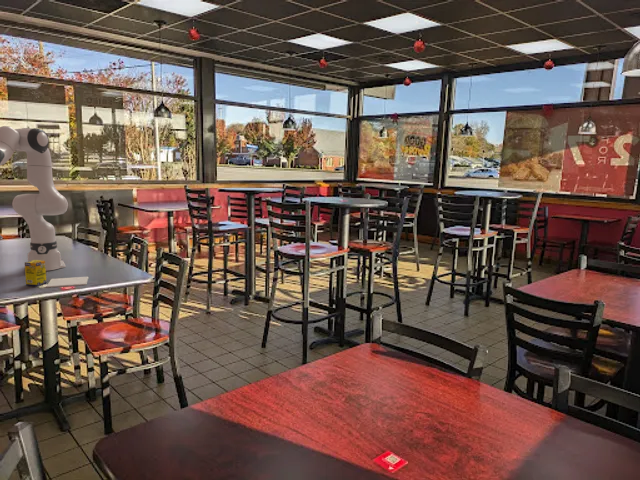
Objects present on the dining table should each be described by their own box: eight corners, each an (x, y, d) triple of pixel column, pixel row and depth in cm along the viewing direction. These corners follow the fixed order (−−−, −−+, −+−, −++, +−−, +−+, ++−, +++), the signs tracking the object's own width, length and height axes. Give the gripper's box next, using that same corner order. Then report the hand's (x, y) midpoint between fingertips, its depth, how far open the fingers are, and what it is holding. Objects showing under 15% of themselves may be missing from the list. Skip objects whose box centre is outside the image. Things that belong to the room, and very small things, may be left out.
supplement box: (37, 286, 212) (35, 263, 211) (25, 285, 214) (23, 262, 212) (47, 283, 218) (45, 260, 216) (36, 282, 219) (34, 259, 218)
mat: (51, 280, 224) (51, 278, 224) (88, 277, 230) (88, 276, 230) (46, 287, 211) (46, 286, 211) (86, 284, 217) (86, 283, 217)
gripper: (-28, 214, 193) (2, 237, 199) (-19, 211, 211) (8, 233, 217) (-41, 225, 192) (-10, 248, 197) (-30, 221, 210) (-3, 242, 215)
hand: (0, 240), depth 207 cm, fingers open, 8 cm apart
